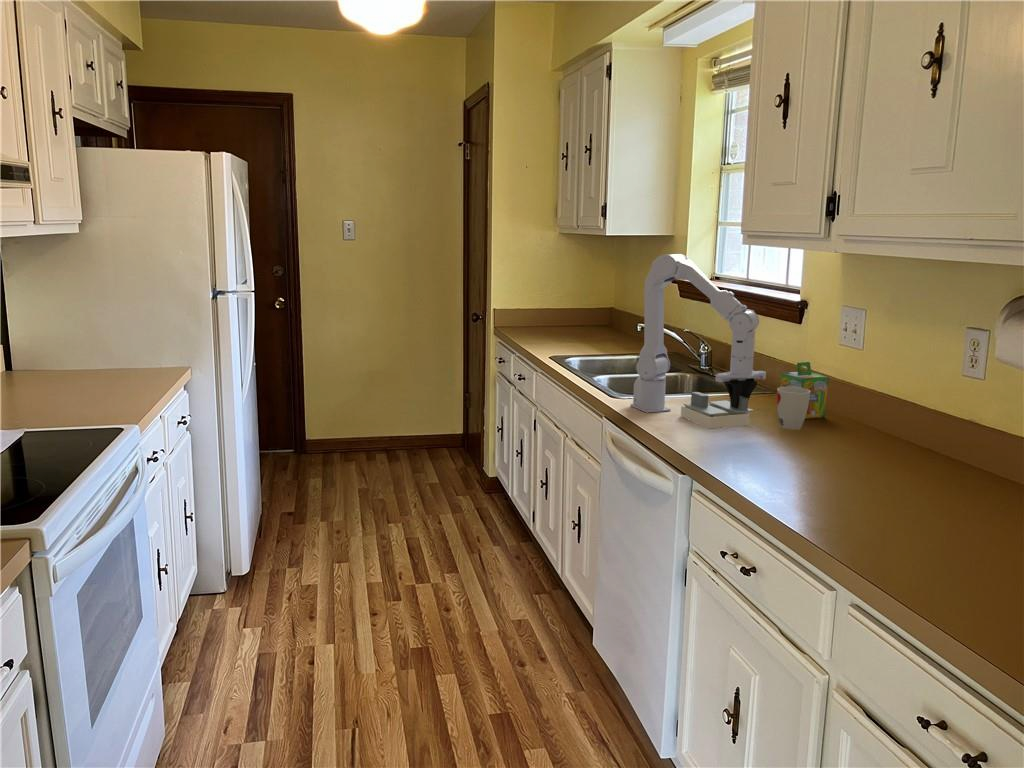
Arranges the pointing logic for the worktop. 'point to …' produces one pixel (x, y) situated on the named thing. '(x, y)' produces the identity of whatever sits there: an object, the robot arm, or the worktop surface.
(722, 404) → the flap far
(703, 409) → the flap near
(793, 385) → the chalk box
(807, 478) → the worktop surface
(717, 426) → the carton
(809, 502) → the worktop surface
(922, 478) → the worktop surface
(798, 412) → the cup
